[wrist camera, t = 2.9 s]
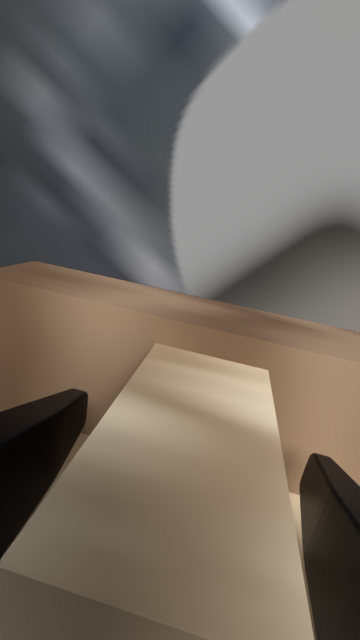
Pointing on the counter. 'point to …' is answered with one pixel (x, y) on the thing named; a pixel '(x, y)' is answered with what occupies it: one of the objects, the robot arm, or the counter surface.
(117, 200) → the counter surface
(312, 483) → the robot arm
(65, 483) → the t-shaped wooden block
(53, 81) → the counter surface
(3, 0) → the counter surface
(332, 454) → the plate
